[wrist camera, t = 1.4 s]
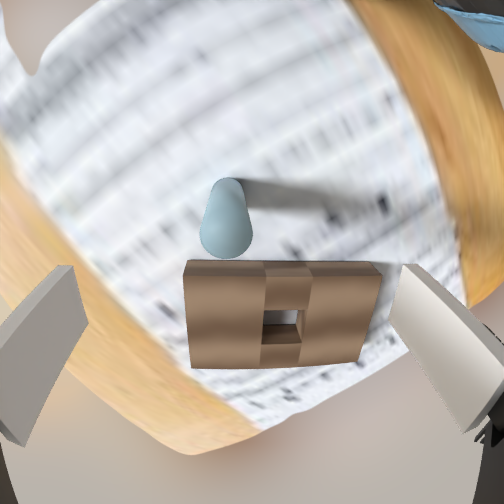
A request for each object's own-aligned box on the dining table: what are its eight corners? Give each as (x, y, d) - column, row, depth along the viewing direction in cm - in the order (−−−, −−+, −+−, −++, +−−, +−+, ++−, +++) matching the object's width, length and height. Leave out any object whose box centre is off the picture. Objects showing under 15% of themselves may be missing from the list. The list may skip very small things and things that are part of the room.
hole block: (187, 260, 30) (182, 275, 27) (369, 261, 32) (382, 275, 28) (193, 348, 35) (191, 368, 31) (348, 344, 36) (357, 361, 33)
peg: (211, 177, 27) (199, 208, 16) (243, 178, 27) (254, 209, 16) (211, 208, 28) (200, 258, 17) (242, 208, 28) (251, 259, 17)
